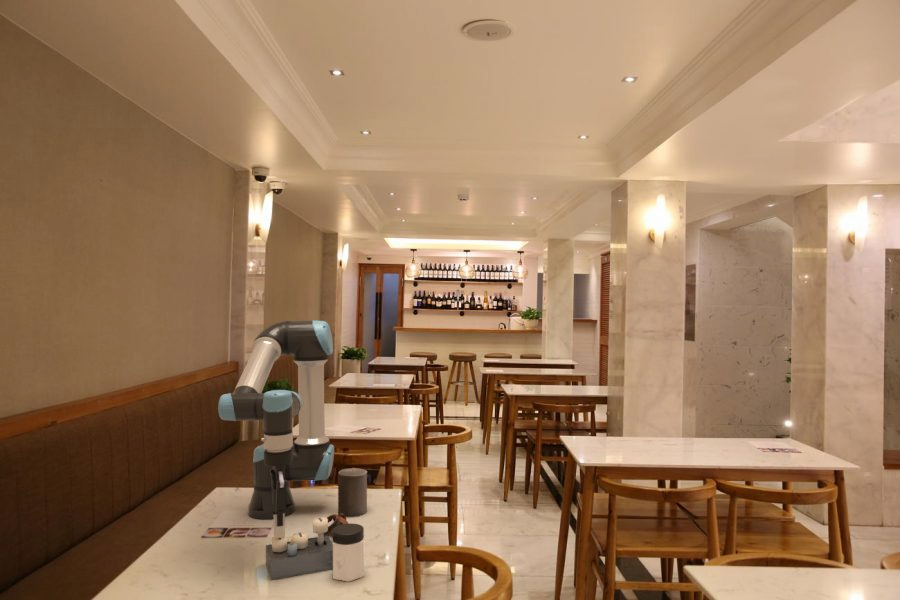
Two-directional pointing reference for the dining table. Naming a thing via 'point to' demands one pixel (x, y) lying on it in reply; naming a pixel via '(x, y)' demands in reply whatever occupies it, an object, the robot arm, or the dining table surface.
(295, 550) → the potentiometer
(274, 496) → the robot arm
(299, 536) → the knob middle
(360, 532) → the jar
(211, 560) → the dining table surface
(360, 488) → the pillar candle
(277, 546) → the knob left
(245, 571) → the dining table surface
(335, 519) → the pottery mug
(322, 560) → the panel
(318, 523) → the knob right
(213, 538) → the dining table surface
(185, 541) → the dining table surface
